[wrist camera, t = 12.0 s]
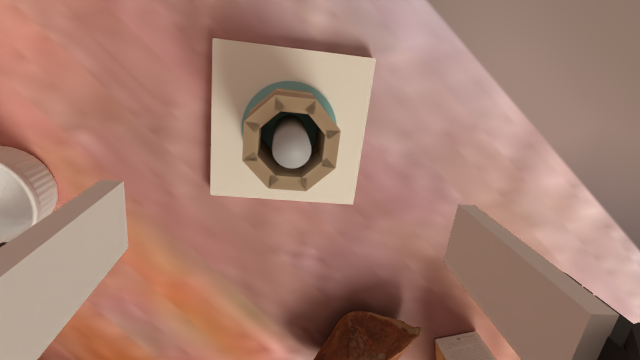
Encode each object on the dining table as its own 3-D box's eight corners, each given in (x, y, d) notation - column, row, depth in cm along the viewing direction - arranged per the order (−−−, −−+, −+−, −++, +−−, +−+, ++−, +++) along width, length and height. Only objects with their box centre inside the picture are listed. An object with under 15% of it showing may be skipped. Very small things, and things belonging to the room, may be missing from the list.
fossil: (295, 392, 40) (338, 434, 31) (286, 316, 41) (325, 336, 32) (384, 358, 46) (441, 386, 37) (374, 293, 46) (428, 304, 38)
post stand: (212, 190, 34) (190, 231, 26) (215, 38, 30) (189, 31, 22) (350, 199, 36) (370, 241, 28) (372, 58, 32) (404, 58, 24)
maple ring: (248, 164, 32) (240, 186, 27) (252, 85, 30) (245, 91, 24) (323, 170, 33) (332, 193, 27) (333, 94, 31) (344, 102, 25)
